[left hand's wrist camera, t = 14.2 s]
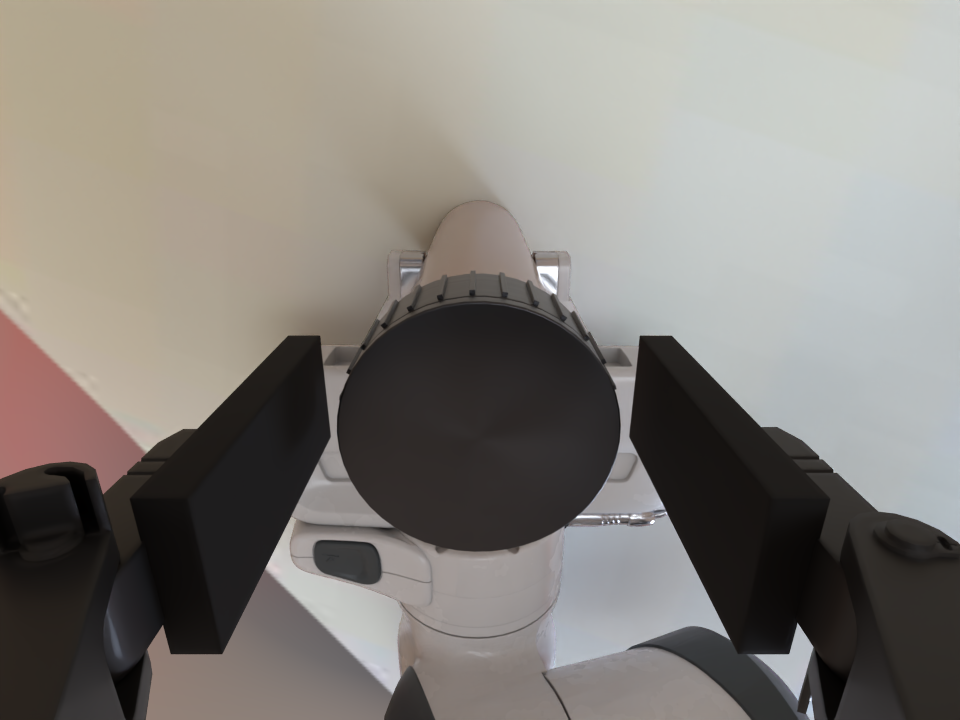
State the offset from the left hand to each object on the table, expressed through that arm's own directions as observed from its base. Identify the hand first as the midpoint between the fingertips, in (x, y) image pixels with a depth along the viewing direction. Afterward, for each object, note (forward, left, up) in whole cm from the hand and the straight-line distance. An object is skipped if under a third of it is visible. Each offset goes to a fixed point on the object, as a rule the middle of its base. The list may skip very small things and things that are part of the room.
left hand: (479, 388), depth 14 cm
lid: (0, 0, +3) cm, 3 cm away
